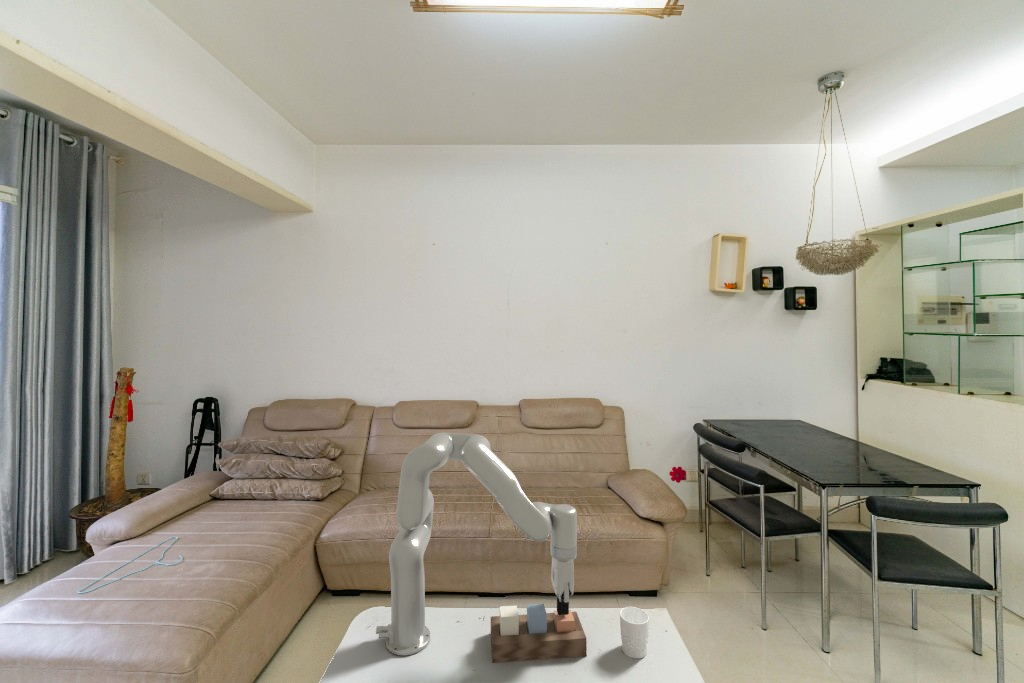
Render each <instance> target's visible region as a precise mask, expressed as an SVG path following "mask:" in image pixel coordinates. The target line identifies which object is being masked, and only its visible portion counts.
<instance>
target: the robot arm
mask: <svg viewBox="0 0 1024 683" xmlns="http://www.w3.org/2000/svg"><path fill="white" fill-rule="evenodd" d="M491 447H492V446H491V443H490V441H489V440H488V438H486V437H485V436H484V435H481V434H477V433H476V434H475V433H461V432H460V433H459V432H437V433H434V434H433V435H432V436H430V437H429V438H428V439H427V440H426V441H425V442H423V443H422V444H421V445H418V446H417V447H415V448H413V449H412V450H411V451H409V452H407V454H406V456H405V457H404V459H403V461H402V463H401V468H400V474H399V475H400V477H399V486H398V491H397V492H398V493H397V501H396V508H395V517H396V521H397V524H398V526H400V527H401V528H400V530H399V531H398V533H397V534H396V536H394V539H393V541H392V543H391V545H390V547H389V552H388V553H389V554H388V561H389V562H388V563H389V569H390V591H391V592H390V595H391V596H390V598H391V601H390V603H391V604H390V605H391V606H390V607H391V615H390V616H391V618H390V620H391V623H389V624H387V625H377V626H376V628H375V633H376V635H378V639H385V646H386V649H387V650H388V652H390V653H391V652H392V653H391V654H393V653H394V654H393V655H396V654H397V656H411V655H414V654H417V653H419V652H420V651H423V649H425V648H426V647H427V645H429V643H430V640H431V631H430V629H429V628H428V627H427V626H426V615H425V614H426V609H425V608H426V600H425V597H426V596H425V594H426V590H425V588H426V584H425V583H426V582H425V581H426V580H425V567H424V556H425V552H426V549H427V547H428V545H429V542H430V541H431V540H430V539H431V535H432V529H433V527H432V526H433V520H434V519H433V518H434V517H433V516H434V506H435V500H434V495H433V493H432V491H431V489H429V488H430V475H431V473H433V471H435V470H439V469H440V468H442V467H444V465H446V463H447V462H448V461H461V463H462V465H463V466H464V468H466V469H467V470H468V472H470V473H471V475H473V477H474V478H476V480H478V481H479V483H480V484H482V485H483V487H485V489H487V491H488V492H489V493H490V494H491V495H492V496H493V497H494V499H495V501H496V502H497V503H498V505H499V506H500V508H501V509H502V510H503V512H504V513H505V514H506V515H505V516H507V518H508V519H509V520H510V521H511V522H512V523H513V524H514V525H515V527H516V528H518V529H519V531H521V533H522V534H523V535H525V537H526V538H528V539H530V540H531V541H534V542H538V543H539V542H543V541H546V540H547V539H548V538H549V537H550V549H549V550H550V556H551V571H550V581H551V584H552V589H553V590H554V593H555V596H557V597H556V611H557V613H558V615H568V614H569V610H570V596H571V597H572V596H573V595H574V592H575V591H574V588H575V587H574V586H575V579H574V578H575V575H574V574H575V573H574V571H575V570H574V569H575V567H574V560H575V559H576V558H577V554H578V553H577V552H578V549H577V546H578V544H577V542H578V539H577V538H578V534H577V533H578V513H577V512H578V511H577V510H576V507H575V506H574V505H573V506H572V505H570V504H565V503H561V504H559V503H558V504H553V503H548V502H543V501H530V499H529V498H528V497H527V495H526V493H525V492H524V491H523V489H522V487H521V485H520V482H519V480H518V479H517V476H516V475H515V473H514V472H513V471H512V470H511V469H510V468H509V467H508V466H507V465H506V464H505V463H504V462H503V460H501V459H500V458H499V457H498V455H496V453H494V451H493V450H492V449H491Z"/></svg>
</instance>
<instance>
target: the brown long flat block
mask: <svg viewBox="0 0 1024 683" xmlns="http://www.w3.org/2000/svg"><path fill="white" fill-rule="evenodd" d="M571 612H572V615H573V618H574V620H575V631H569V632H556V629H555V626H554V612H548V613H547V612H546V614H547V633H538V634H529V633H528V628H527V613H526V614H518V616H519V635H507V636H501V635H500V615H497V616H495V615H494V616H490V645H491V662H492V664H493V663H509V662H512V663H513V662H525V661H537V660H538V661H539V660H540V661H541V660H553V659H566V658H580V657H581V658H582V657H587V643H588V642H587V636H586V633H585V630H584V629H583V625H582V623H581V620H580V618H579V615H578V613H577V611H571Z"/></svg>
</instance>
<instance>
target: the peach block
mask: <svg viewBox="0 0 1024 683" xmlns="http://www.w3.org/2000/svg"><path fill="white" fill-rule="evenodd" d="M572 612H573V611H572V610H571V609H569V614H568V615H558V613H557V610H553V613H554V626H555V629H556V632H569V631H575V620H574V618H573V615H572Z"/></svg>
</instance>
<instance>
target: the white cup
mask: <svg viewBox="0 0 1024 683" xmlns="http://www.w3.org/2000/svg"><path fill="white" fill-rule="evenodd" d="M619 621H620V622H619V623H620V624H619V625H620V639H621V649H622V651H623V653H624V654H625V656H627V657H629V658H632V659H637V660H638V659H642V658H645V657H646V656H647V654H648V642H649V628H650V627H649V626H650V624H649V623H650V616H649V614H648V613H647V612H646V611H645V610H644V609H642V608H639V607H636V606H626V607H625V606H624V607H622V609H620V611H619Z"/></svg>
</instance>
